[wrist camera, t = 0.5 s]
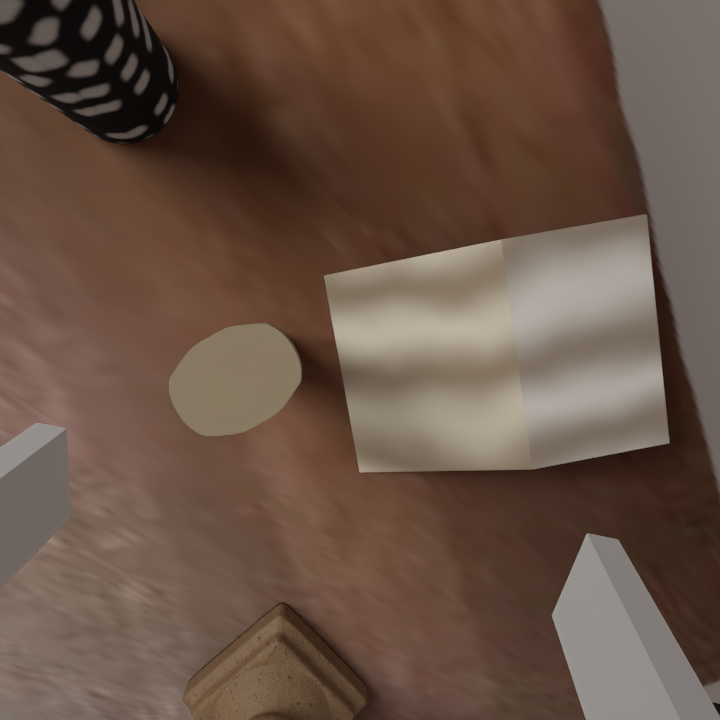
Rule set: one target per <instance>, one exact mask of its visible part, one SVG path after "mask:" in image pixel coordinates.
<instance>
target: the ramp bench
mask: <svg viewBox="0 0 720 720" xmlns="http://www.w3.org/2000/svg"><path fill="white" fill-rule="evenodd" d="M324 280H325V285H326V291H327V296H328V302H329V307H330V313H331V318H332V324H333V329H334V335H335V340H336V346H337V351H338V357H339V362H340V368H341V373H342V379H343V384H344V390H345V395H346V401H347V406H348V411H349V417H350V422H351V428H352V433H353V439H354V444H355V450H356V455H357V461H358V466H359V472H410V471H470V470H530V469H537V468H543V467H548V466H553V465H558V464H564V463H569V462H574V461H579V460H584V459H590V458H595V457H600V456H605V455H610V454H616V453H621V452H626V451H631V450H636V449H642V448H647V447H652V446H657V445H663V444H668V443H670V442H669V432H668V422H667V412H666V402H665V392H664V382H663V372H662V362H661V352H660V342H659V332H658V322H657V313H656V303H655V293H654V283H653V273H652V263H651V253H650V243H649V233H648V223H647V214H645V215H639V216H634V217H628V218H622V219H616V220H611V221H605V222H599V223H594V224H588V225H582V226H576V227H571V228H565V229H559V230H553V231H548V232H542V233H536V234H530V235H525V236H519V237H513V238H508V239H502V240H497V241H492V242H487V243H482V244H477V245H472V246H467V247H462V248H457V249H453V250H448V251H443V252H438V253H433V254H428V255H423V256H418V257H413V258H408V259H403V260H398V261H394V262H389V263H384V264H379V265H374V266H369V267H364V268H359V269H354V270H349V271H344V272H339V273H335V274H330V275H325V276H324Z"/></svg>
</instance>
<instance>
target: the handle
mask: <svg viewBox="0 0 720 720" xmlns="http://www.w3.org/2000/svg"><path fill="white" fill-rule="evenodd" d="M301 380H302V364H301V360H300V357H299V354H298V352H297V350H296V348H295V346H294V344H293V343H292V342H291V340H290V339H289V337H288V336H287V335H286V334H285V333H284V332H283V331H282V330H280V329H278V328H277V327H275V326H274V325H271V324H269V323H258V324H246V325H237V326H231V327H228V328H225V329H223V330H221V331H219V332H217V333H215V334H213V335H212V336H210V337H208V338H206V339H205V340H203V341H201V342H200V343H198V344H197V345H195V346H194V347H193V348H191V349H190V351H189V352H188V353H187V354H186V355H185V356H184V358H183V359H182V361H181V362H180V363H179V365H178V366H177V368H176V369H175V371H174V373H173V374H172V376H171V377H170V379H169V392H170V397H171V400H172V403H173V405H174V407H175V409H176V411H177V413H178V414H179V416H180V417H181V418H182V420H183V421H184V422H185V423H186V424H187V425H188V426H189V427H190V428H191V429H192V430H194V431H196V432H197V433H199V434H201V435H203V436H219V435H230V434H237V433H241V432H245V431H247V430H249V429H251V428H253V427H255V426H257V425H259V424H260V423H262V422H264V421H266V420H267V419H269V418H271V417H272V416H273V415H275V414H276V413H278V412H279V411H280V410H281V409H282V407H283V406H284V405H285V404H286V403H287V401H288V400H289V398H290V397H291V396H292V394H293V393H294V391H295V390H296V388H297V387H298V385H299V384H300V382H301Z"/></svg>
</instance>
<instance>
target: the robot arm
mask: <svg viewBox="0 0 720 720" xmlns="http://www.w3.org/2000/svg"><path fill="white" fill-rule="evenodd" d="M70 517H71V510H70V489H69V468H68V447H67V428H62V427H57V426H52V425H47V424H42V423H35V424H34V425H33V426H31V427H30V428H28V429H27V430H25V431H24V432H22V433H21V434H19V435H18V436H16V437H15V438H13V439H12V440H10V441H9V442H7V443H6V444H4V445H3V446H1V447H0V589H1V588H2V587H3V586H4V585H5V584H6V583H7V582H8V581H9V580H10V579H11V578H12V577H13V576H14V575H15V574H16V573H17V572H18V571H19V570H20V569H21V568H22V567H23V566H24V565H25V564H26V563H27V562H28V560H29V559H30V558H31V557H32V556H33V555H34V554H35V553H36V552H37V551H38V550H39V549H40V548H41V547H42V546H43V545H44V544H45V543H46V542H47V541H48V540H49V539H50V538H51V537H52V536H53V535H54V534H55V533H56V532H57V531H58V530H59V529H60V528H61V527H62V526H63V525H64V524H65V522H66V521H67V520H68V519H69V518H70ZM552 618H553V621H554V624H555V627H556V630H557V633H558V636H559V639H560V642H561V645H562V648H563V651H564V654H565V657H566V660H567V663H568V667H569V670H570V673H571V676H572V679H573V682H574V685H575V688H576V691H577V694H578V697H579V700H580V703H581V706H582V709H583V712H584V715H585V718H586V720H720V704H717V703H713V702H711V700H710V698H709V696H708V695H707V693H706V691H705V690H704V688H703V686H702V684H701V683H700V681H699V679H698V677H697V676H696V674H695V672H694V670H693V669H692V667H691V665H690V664H689V662H688V660H687V658H686V657H685V655H684V653H683V651H682V650H681V648H680V646H679V644H678V643H677V641H676V639H675V637H674V636H673V634H672V632H671V631H670V629H669V627H668V625H667V624H666V622H665V620H664V618H663V617H662V615H661V613H660V611H659V610H658V608H657V606H656V605H655V603H654V601H653V599H652V598H651V596H650V594H649V592H648V591H647V589H646V587H645V585H644V584H643V582H642V580H641V578H640V577H639V575H638V573H637V572H636V570H635V568H634V566H633V565H632V563H631V561H630V559H629V558H628V556H627V554H626V552H625V551H624V549H623V547H622V546H621V544H620V542H619V540H618V539H613V538H608V537H603V536H598V535H593V534H588V533H587V534H586V537H585V539H584V541H583V544H582V546H581V548H580V551H579V553H578V555H577V558H576V560H575V562H574V565H573V567H572V569H571V572H570V574H569V576H568V579H567V581H566V583H565V586H564V588H563V590H562V593H561V595H560V597H559V600H558V602H557V604H556V607H555V609H554V611H553V614H552Z"/></svg>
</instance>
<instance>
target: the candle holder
mask: <svg viewBox="0 0 720 720" xmlns="http://www.w3.org/2000/svg"><path fill="white" fill-rule="evenodd" d="M182 700H183V701H184V703H185V704H186V705H187V706H188V707H189V708H190V709H191V714H192V716H193V718H194V720H353V718H354V717H355V716H356V714H357V713H358V712H359V711H360V710H361V709H362V708H363V707H364V706H365V705H366V703H367V695H366V686H365V684H364V682H363V681H362V680H361V679H360V678H359V676H358V675H357V674H356V673H355V672H354V671H353V670H352V669H351V668H350V667H349V666H348V665H347V664H346V663H345V662H344V661H343V660H342V659H341V658H340V657H339V656H338V655H337V654H336V653H335V652H334V651H333V650H332V649H331V648H330V646H329V645H328V644H327V643H326V642H325V641H324V640H323V639H322V638H321V637H320V636H319V635H318V634H317V633H316V632H315V631H314V630H313V629H312V628H311V627H310V626H309V625H308V624H307V623H306V622H305V621H304V620H303V619H302V618H301V617H300V616H299V615H298V614H297V613H296V612H295V611H294V610H292V609H291V608H290V607H289V606H288V605H287V604H285V603H283V602H282V603H280V604H278V605H276V606H275V607H274V608H273V609H271V610H270V611H269V612H267V613H266V614H265V615H264V616H262V617H261V618H260V619H259V620H258V621H257V622H255V623H254V624H253V625H252V626H251V627H250V628H248V629H247V630H246V631H245V632H244V633H243V634H241V635H240V636H239V637H238V638H237V639H236V640H234V641H233V642H232V643H231V644H230V645H229V646H227V647H226V648H225V649H224V650H223V651H222V652H220V653H219V654H218V655H217V656H216V657H215V658H213V659H212V660H211V661H210V662H209V663H208V664H206V665H205V666H204V667H203V668H202V669H201V670H200V671H199V672H198V673H197V674H196V675H195V676H193V677H192V678H191V679H190V681H189V683H188V685H187V688H186V691H185V693H184V696H183V699H182Z"/></svg>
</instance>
